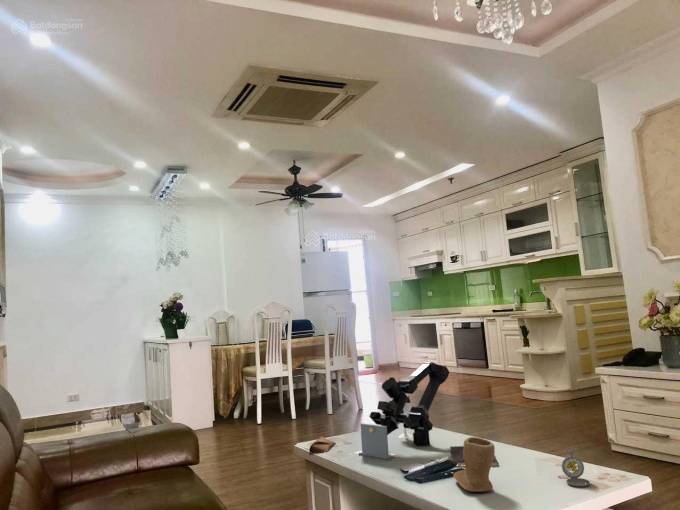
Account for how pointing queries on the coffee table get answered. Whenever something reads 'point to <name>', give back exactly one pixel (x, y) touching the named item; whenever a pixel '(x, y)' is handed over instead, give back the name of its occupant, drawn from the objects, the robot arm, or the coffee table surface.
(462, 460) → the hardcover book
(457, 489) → the coffee table surface
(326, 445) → the sunglasses case
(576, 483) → the pocket watch
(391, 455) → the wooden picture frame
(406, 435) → the champagne flute
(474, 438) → the tan boot
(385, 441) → the door
